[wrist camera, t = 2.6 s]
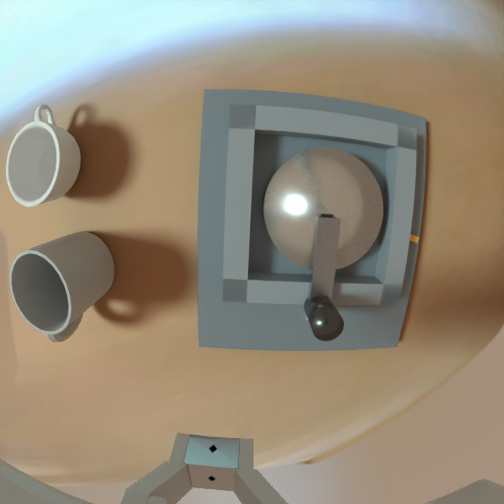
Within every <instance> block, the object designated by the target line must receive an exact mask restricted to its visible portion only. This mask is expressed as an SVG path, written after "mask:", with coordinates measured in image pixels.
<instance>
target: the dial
mask: <svg viewBox="0 0 504 504" xmlns="http://www.w3.org/2000/svg"><path fill="white" fill-rule="evenodd" d="M263 214H264V220H265V224H266V227H267V231H268V233H269V235H270V238H271V240H272V241H273V243H274V245H275V246H276V247H277V249H278V250H279V251H280V252H281V253H282V254H283V255H284V256H285V257H286V258H287V259H289V260H290V261H291V262H293V263H295V264H297V265H298V266H301V267H303V268H306V269H310V270H311V278H310V287H309V295H308V298H307V299H306V300H305V303H304V311H305V314H306V316H307V319H308V321H309V324H310V326H311V329H312V332H313V334H314V336H315V337H316V338H317V339H319V340H321V341H331V340H334V339H336V338H337V337H338V336H339V335H340V334H341V333H342V331H343V329H344V321H343V318H342V317H341V315H340V314H339V312H338V311H337V309H336V307H335V306H334V304H333V303H332V301H331V299H332V292H333V285H334V277H335V270H337V269H341V268H344V267H346V266H348V265H351V264H352V263H354V262H355V261H357V260H358V259H360V258H361V257H362V256H363V255H364V254H365V253H366V252H367V251H368V250H369V249H370V247H371V246H372V245H373V243H374V241H375V240H376V238H377V236H378V233H379V231H380V228H381V224H382V219H383V199H382V194H381V190H380V187H379V185H378V183H377V181H376V179H375V177H374V175H373V174H372V172H371V171H370V170H369V169H368V167H367V166H366V165H365V164H364V163H363V162H361V161H360V160H359V159H358V158H356V157H355V156H353V155H351V154H349V153H347V152H344V151H341V150H338V149H333V148H314V149H310V150H306V151H303V152H301V153H299V154H297V155H295V156H293V157H291V158H290V159H288V160H287V161H286V162H284V163H283V164H282V165H281V166H280V167H279V168H278V169H277V170H276V172H275V173H274V174H273V176H272V177H271V179H270V181H269V183H268V185H267V188H266V191H265V195H264V201H263Z"/></svg>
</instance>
